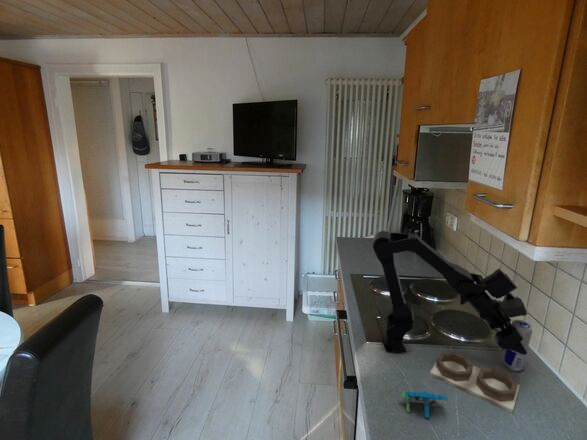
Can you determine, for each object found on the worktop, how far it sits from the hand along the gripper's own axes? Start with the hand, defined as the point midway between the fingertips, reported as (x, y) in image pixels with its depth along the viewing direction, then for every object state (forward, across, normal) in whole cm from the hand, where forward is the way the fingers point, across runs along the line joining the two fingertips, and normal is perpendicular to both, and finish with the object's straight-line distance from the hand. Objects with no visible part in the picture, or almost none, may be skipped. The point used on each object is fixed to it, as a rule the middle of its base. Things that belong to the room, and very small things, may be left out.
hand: (520, 343), depth 102 cm
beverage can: (+6, 0, +6) cm, 9 cm away
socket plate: (-4, -10, +15) cm, 18 cm away
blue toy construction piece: (-14, -23, +26) cm, 37 cm away
